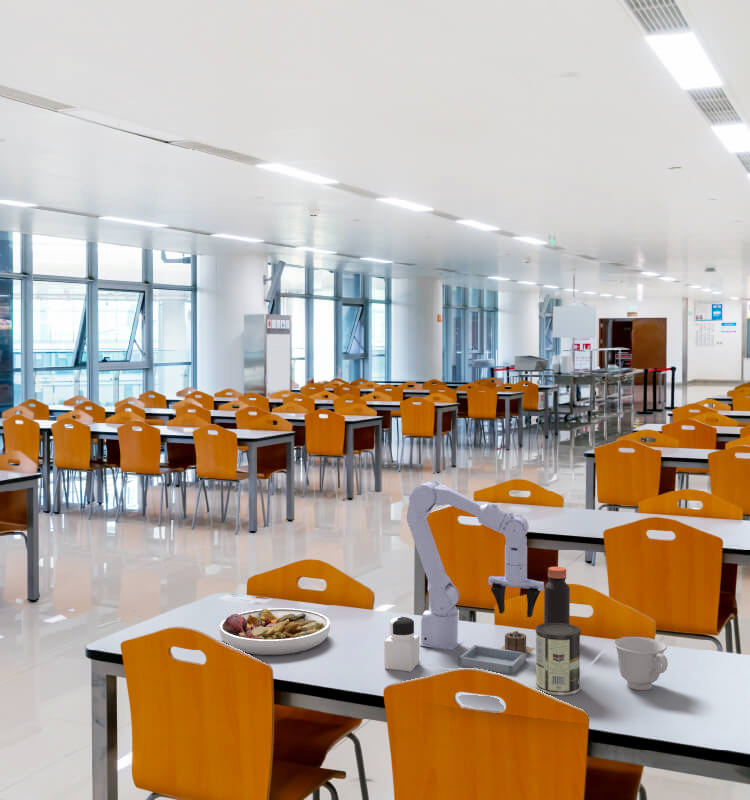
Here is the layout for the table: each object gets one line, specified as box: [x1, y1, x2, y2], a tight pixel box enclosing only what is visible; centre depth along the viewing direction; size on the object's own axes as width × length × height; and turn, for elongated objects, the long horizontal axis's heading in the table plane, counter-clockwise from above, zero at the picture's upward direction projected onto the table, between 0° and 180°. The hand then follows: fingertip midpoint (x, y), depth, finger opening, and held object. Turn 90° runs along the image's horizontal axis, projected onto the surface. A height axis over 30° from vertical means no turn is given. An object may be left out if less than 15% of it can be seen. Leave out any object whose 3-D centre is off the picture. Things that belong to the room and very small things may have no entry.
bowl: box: [219, 607, 331, 656], centre depth 250 cm, size 30×30×8 cm
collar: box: [504, 631, 527, 652], centre depth 239 cm, size 5×5×4 cm
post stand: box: [500, 630, 536, 657], centre depth 239 cm, size 8×8×6 cm
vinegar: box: [543, 566, 571, 624], centre depth 248 cm, size 7×7×20 cm
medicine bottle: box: [383, 616, 420, 672], centre depth 229 cm, size 7×7×12 cm
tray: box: [458, 644, 527, 675], centre depth 230 cm, size 14×11×2 cm
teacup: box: [613, 636, 668, 691], centre depth 213 cm, size 12×15×10 cm
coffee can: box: [535, 622, 581, 696], centre depth 214 cm, size 10×10×14 cm
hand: (515, 614), depth 239 cm, fingers open, 7 cm apart
